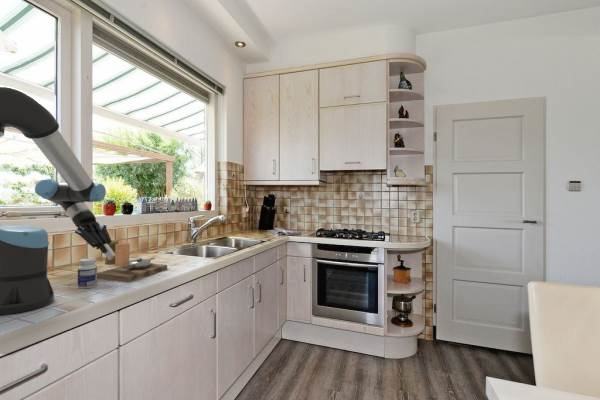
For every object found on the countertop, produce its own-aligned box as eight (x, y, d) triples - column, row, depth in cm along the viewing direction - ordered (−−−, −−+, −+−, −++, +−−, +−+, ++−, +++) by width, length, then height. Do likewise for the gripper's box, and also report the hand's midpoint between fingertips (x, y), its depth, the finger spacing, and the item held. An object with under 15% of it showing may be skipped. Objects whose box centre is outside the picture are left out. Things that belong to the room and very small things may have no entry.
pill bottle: (82, 284, 107) (82, 257, 107) (99, 284, 108) (100, 257, 108) (74, 289, 101) (74, 261, 101) (92, 288, 103) (93, 260, 103)
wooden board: (128, 282, 112) (128, 276, 112) (94, 278, 115) (95, 272, 115) (167, 269, 133) (167, 264, 133) (137, 266, 137) (138, 261, 137)
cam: (127, 273, 116) (128, 244, 116) (109, 271, 118) (110, 243, 118) (162, 263, 135) (162, 238, 135) (145, 261, 137) (146, 237, 137)
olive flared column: (122, 262, 144) (122, 240, 144) (113, 265, 138) (113, 242, 138) (111, 261, 145) (111, 239, 145) (101, 264, 139) (102, 241, 139)
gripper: (90, 220, 130) (120, 260, 126) (60, 222, 118) (92, 267, 114) (100, 209, 129) (130, 249, 125) (71, 210, 116) (103, 254, 113)
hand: (112, 257), depth 120 cm, fingers closed
